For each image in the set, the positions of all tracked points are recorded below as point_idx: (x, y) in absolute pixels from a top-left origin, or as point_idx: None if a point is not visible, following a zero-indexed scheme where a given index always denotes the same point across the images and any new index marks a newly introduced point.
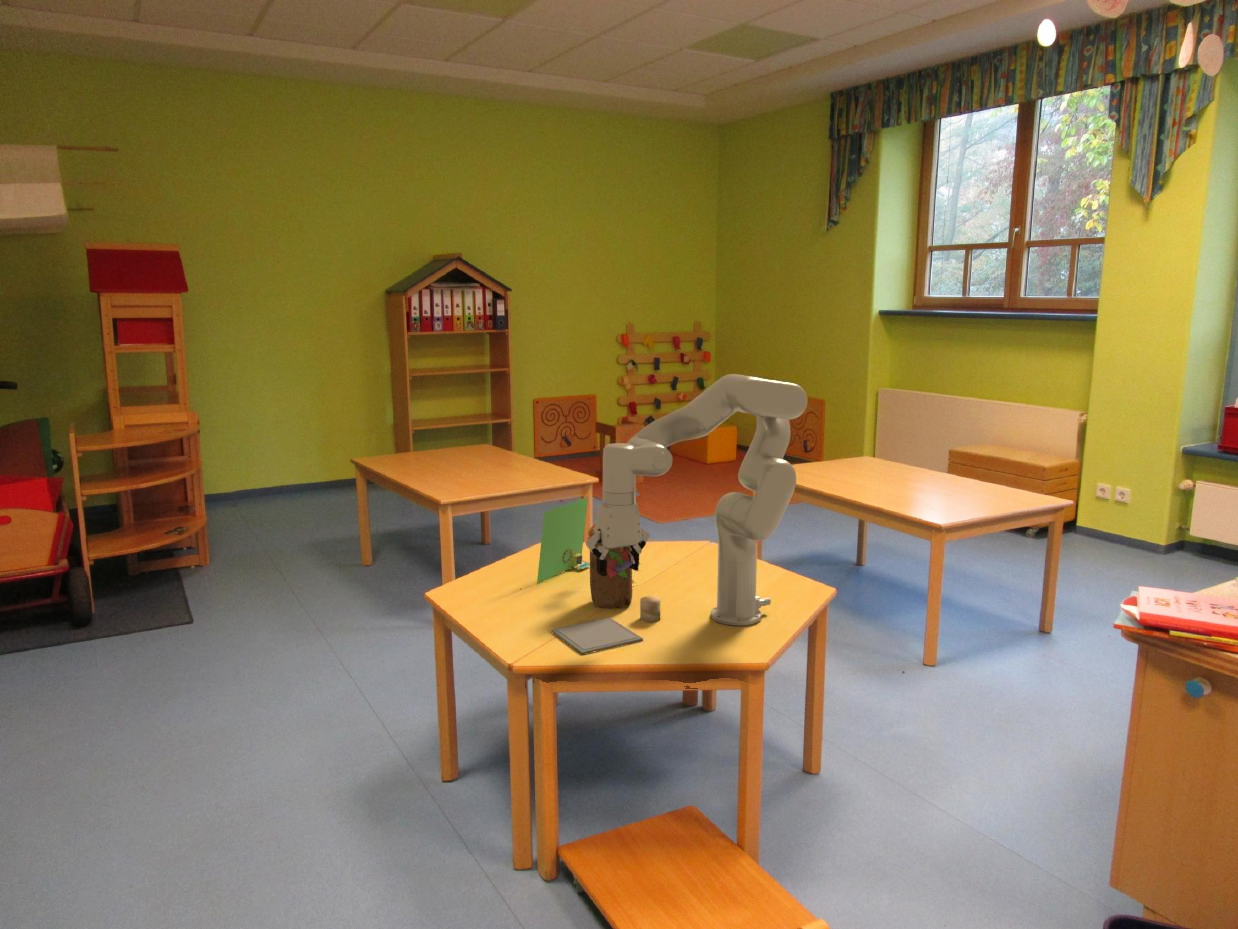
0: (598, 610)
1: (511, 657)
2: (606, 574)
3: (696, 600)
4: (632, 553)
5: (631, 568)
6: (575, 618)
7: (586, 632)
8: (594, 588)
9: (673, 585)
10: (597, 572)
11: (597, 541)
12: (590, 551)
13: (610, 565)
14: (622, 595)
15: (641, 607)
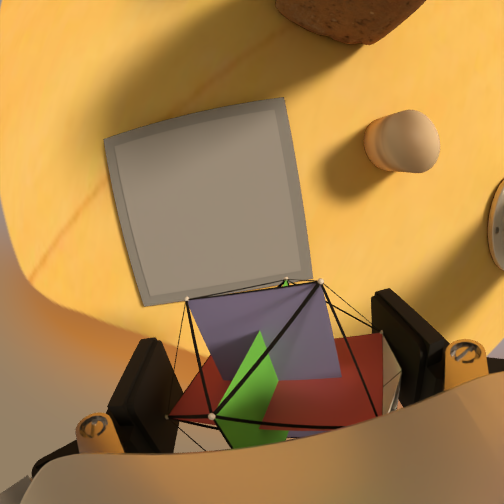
0: (276, 30)
1: (23, 260)
2: None
3: (498, 99)
4: (418, 384)
5: (372, 322)
6: (194, 63)
7: (182, 191)
8: None
9: (476, 7)
10: (143, 340)
11: (59, 469)
12: (43, 462)
13: (214, 399)
14: (356, 36)
15: (379, 141)
